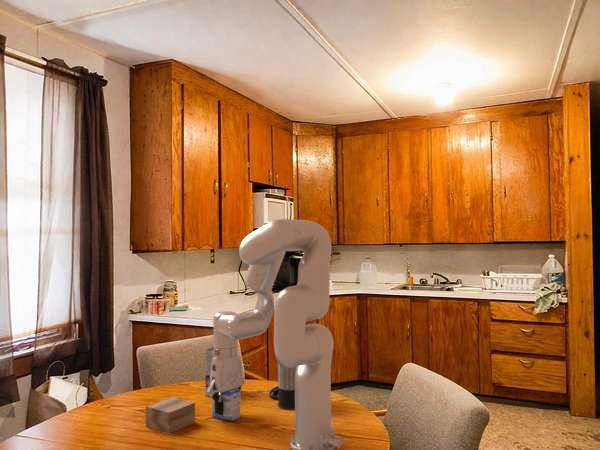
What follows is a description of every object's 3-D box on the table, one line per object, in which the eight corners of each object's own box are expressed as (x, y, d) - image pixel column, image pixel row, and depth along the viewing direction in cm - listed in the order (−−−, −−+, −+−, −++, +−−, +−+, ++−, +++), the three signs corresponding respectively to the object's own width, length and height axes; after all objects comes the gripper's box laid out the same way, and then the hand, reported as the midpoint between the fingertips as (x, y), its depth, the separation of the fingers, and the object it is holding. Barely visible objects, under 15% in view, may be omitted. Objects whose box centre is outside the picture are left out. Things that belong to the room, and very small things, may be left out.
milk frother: (297, 412, 150) (296, 364, 150) (255, 405, 156) (254, 360, 157) (315, 398, 162) (315, 355, 163) (275, 392, 169) (275, 351, 170)
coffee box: (221, 396, 166) (221, 350, 166) (204, 395, 167) (204, 350, 168) (230, 389, 174) (230, 345, 175) (214, 388, 176) (214, 344, 176)
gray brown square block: (194, 422, 142) (194, 402, 142) (168, 434, 134) (168, 412, 134) (172, 416, 147) (172, 397, 148) (146, 427, 139) (146, 406, 139)
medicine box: (211, 417, 146) (211, 389, 146) (220, 412, 150) (220, 385, 150) (232, 421, 142) (232, 392, 142) (240, 416, 146) (240, 388, 146)
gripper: (212, 359, 138) (212, 422, 137) (253, 348, 151) (254, 406, 150) (196, 355, 142) (196, 416, 142) (237, 345, 156) (237, 401, 155)
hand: (226, 410), depth 146 cm, fingers closed on medicine box, 5 cm apart
